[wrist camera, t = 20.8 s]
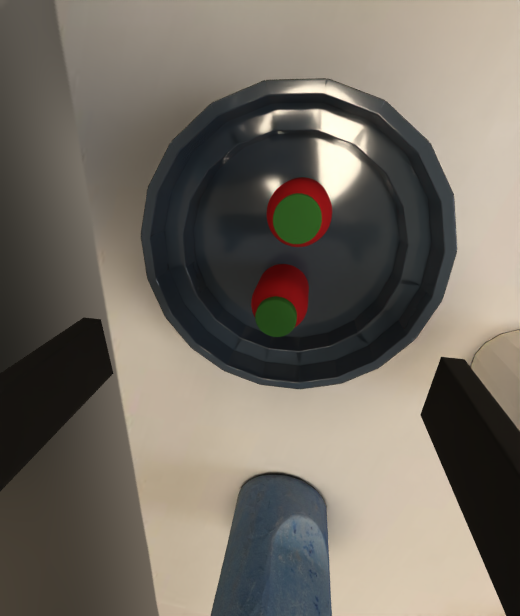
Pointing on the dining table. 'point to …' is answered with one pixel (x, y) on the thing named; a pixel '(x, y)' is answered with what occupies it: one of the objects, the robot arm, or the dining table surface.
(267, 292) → the strawberry
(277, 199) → the strawberry
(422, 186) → the bowl
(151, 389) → the dining table surface
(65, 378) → the robot arm
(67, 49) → the dining table surface
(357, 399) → the dining table surface
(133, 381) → the dining table surface
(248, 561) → the bottle
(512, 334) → the beige short cylinder
